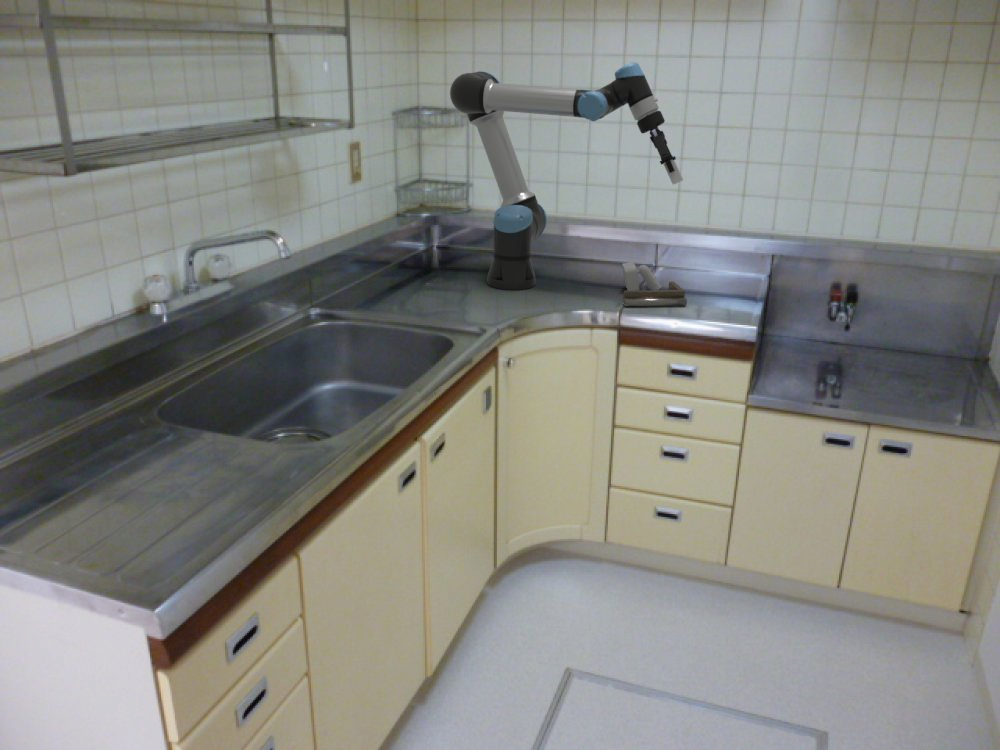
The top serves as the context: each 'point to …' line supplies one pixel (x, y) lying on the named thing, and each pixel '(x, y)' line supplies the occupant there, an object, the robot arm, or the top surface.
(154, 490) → the top surface
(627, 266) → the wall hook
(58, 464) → the top surface
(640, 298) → the hinge bracket
